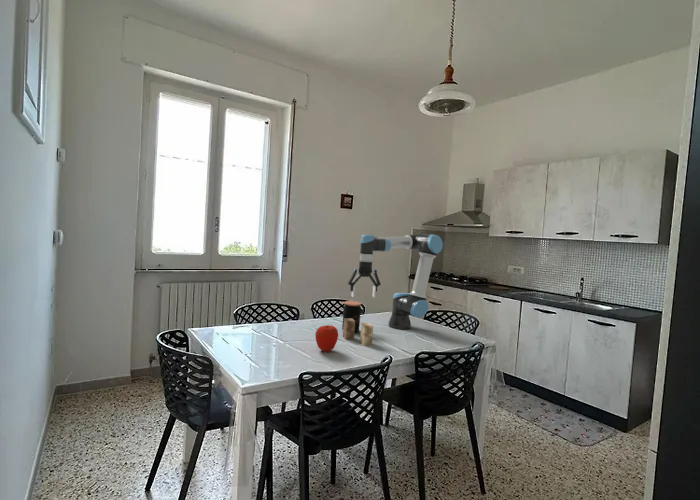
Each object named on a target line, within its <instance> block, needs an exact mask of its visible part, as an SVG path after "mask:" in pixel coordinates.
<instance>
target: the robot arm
mask: <svg viewBox="0 0 700 500" xmlns="http://www.w3.org/2000/svg"><path fill="white" fill-rule="evenodd" d="M360 237H361V238H360V241H359V244H360V249H359V250H360V251H359V265H358V269H357V268H353V271H352V274H351V275H350V277H349V280H348V281H347V285H349V286H350V287H349V288H350V290H349V291H350V292H351V297H352V298H355V288H356V286H355V284H356V283H357V282H358V281H359V280H360V279H361V278H364V277H366V278H369V279H370V281H371V283H372V284H373V285H372V295H371V296H372V298H376V292H378V287H380V286H381V282H380V279H379V276H378V272H377V269H373V257H374V252H383V253H384V252H389V251H390V250H391V249H406V250H414V251H418V254H419V256H420V257H419V260H418V264H417V268H416V272H415V277H414V282H413V285H412V289H411V292H395V293H394V294H393V298H392V309H391V316H390V318H389V320H388V326H389V328H392V329H396V330H409V329H411V328H412V323H411V319H410V316H412V317H414V318H422V317H423V316H425V315H426V314H427V312H428V310H429V303H428V302H427V296H426V292H427V288H428V283H429V280H430V279H429V278H430V274H431V271H432V266H433V262H434V259H435V258H437V255H438V254H440V253H441V251H442V250H443V247H444V246H443V245H444V243H443V240H442V238H441V237H440V236H439V235H437V234H432V233H431V234H429V233H413V234H406V235H403V236H376V237H375V235H373V234H361V236H360ZM357 273H358V274H357ZM372 274H373V275H372ZM356 275H357V276H356ZM373 276H374V277H373Z"/></svg>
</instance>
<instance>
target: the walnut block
mask: <svg viewBox="0 0 700 500" xmlns="http://www.w3.org/2000/svg"><path fill="white" fill-rule="evenodd" d="M354 331H355V320H353V319H352V318H344V325H343V330H342V338H343V339H344V340H345V341H346V340H347V341H349V340H350V341H351V340H352V341H353V340H355V333H354Z"/></svg>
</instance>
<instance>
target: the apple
mask: <svg viewBox="0 0 700 500" xmlns="http://www.w3.org/2000/svg"><path fill="white" fill-rule="evenodd" d="M338 339H339V331H338V328H336V327H335V326H334V325H330V324H327V325H321V326H319V327H317V329H316V331H315V343H316V345H317V348H318V349H319V350H321V351H322V352H324V353H329V352H331V351H332V350H333V349H334V348H335V346H336V345H337V342H338Z"/></svg>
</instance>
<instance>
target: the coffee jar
mask: <svg viewBox="0 0 700 500" xmlns="http://www.w3.org/2000/svg"><path fill="white" fill-rule="evenodd" d="M343 304H344V306H343V309H342V325H341V326H342V328H341V329H342V331H343V325H344V318H352V319H353V320H355V331H354V334H357V333H359V332H360V326H361V325H360V323H361V313H362V312H361V311H362V309H361V305H362V303H361V302H359V301H354V300H353V301H352V300H345V301H343Z"/></svg>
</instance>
